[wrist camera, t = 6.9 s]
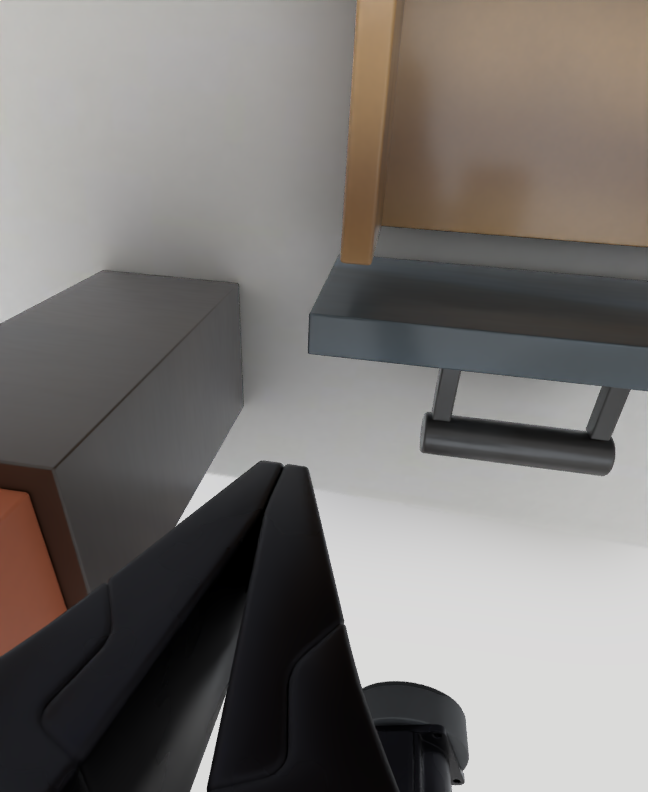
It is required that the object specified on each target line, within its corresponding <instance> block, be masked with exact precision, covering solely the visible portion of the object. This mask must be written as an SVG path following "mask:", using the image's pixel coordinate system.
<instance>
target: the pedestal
mask: <svg viewBox="0 0 648 792" xmlns="http://www.w3.org/2000/svg"><path fill="white" fill-rule="evenodd" d="M242 408H243V382H242V357H241V333H240V308H239V285H238V283H229V282H219V281H208V280H198V279H188V278H177V277H167V276H156V275H146V274H136V273H125V272H115V271H104V270H103V271H101V272H99V273H97V274H95V275H93V276H91V277H89V278H87V279H85V280H83V281H81V282H79V283H78V284H76V285H74V286H72V287H70V288H68V289H66V290H64V291H62V292H60V293H58V294H56V295H55V296H53V297H51V298H49V299H47V300H45V301H43V302H41V303H39V304H37V305H35V306H33V307H31V308H30V309H28V310H26V311H24V312H22V313H20V314H18V315H16V316H14V317H12V318H10V319H8V320H6V321H5V322H3V323H1V324H0V488H1V489H8V490H14V491H21V492H26V493H28V494H29V496H30V499H31V502H32V505H33V508H34V511H35V514H36V517H37V520H38V523H39V526H40V529H41V532H42V535H43V538H44V541H45V544H46V547H47V550H48V553H49V556H50V559H51V562H52V565H53V568H54V571H55V574H56V577H57V580H58V583H59V586H60V589H61V592H62V595H63V598H64V601H65V604H66V608H67V610H68V609H69V608H71V607H72V606H73V605H75V604H76V603H77V602H79V601H80V600H81V599H83V598H84V597H85V596H87V595H88V594H89V593H91V592H92V591H93V590H94V589H96V588H97V587H98V586H100V585H101V584H102V583H107V584H108V579H109V578H110V577H111V576H113V575H114V574H115V573H117V572H118V571H119V570H120V569H122V568H123V567H124V566H126V565H127V564H128V563H129V562H131V561H132V560H133V559H135V558H136V557H137V556H138V555H140V554H141V553H142V552H144V551H145V550H146V549H147V548H149V547H150V546H151V545H153V544H154V543H155V542H156V541H158V540H159V539H160V538H162V537H163V536H164V535H165V534H167V533H168V532H169V531H171V530H172V529H173V528H174V527H175V526H176V524H177V522H178V521H179V519H180V517H181V515H182V514H183V512H184V510H185V508H186V507H187V505H188V503H189V501H190V500H191V498H192V496H193V494H194V492H195V491H196V489H197V487H198V485H199V484H200V482H201V480H202V478H203V477H204V475H205V473H206V471H207V470H208V468H209V466H210V464H211V463H212V461H213V459H214V457H215V456H216V454H217V452H218V450H219V448H220V447H221V445H222V443H223V441H224V440H225V438H226V436H227V434H228V433H229V431H230V429H231V427H232V426H233V424H234V422H235V420H236V419H237V417H238V415H239V413H240V411H241V410H242Z"/></svg>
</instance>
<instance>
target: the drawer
mask: <svg viewBox="0 0 648 792" xmlns="http://www.w3.org/2000/svg"><path fill="white" fill-rule="evenodd" d="M381 226H388V227H401V228H413V229H425V230H438V231H450V232H462V233H475V234H487V235H500V236H512V237H524V238H537V239H549V240H561V241H574V242H586V243H598V244H611V245H623V246H636V247H648V0H357V4H356V19H355V35H354V51H353V66H352V82H351V97H350V113H349V129H348V144H347V160H346V175H345V191H344V206H343V222H342V238H341V253H340V254H339V256H338V258H337V260H336V262H335V264H334V266H333V268H332V270H331V272H330V274H329V276H328V278H327V280H326V282H325V284H324V286H323V288H322V290H321V292H320V294H319V296H318V298H317V300H316V302H315V304H314V306H313V308H312V310H311V312H310V314H309V333H308V353H309V354H315V355H324V356H333V357H342V358H351V359H360V360H369V361H378V362H387V363H396V364H406V365H415V366H424V367H433V368H440V369H439V374H438V380H437V385H436V391H435V396H434V401H433V407H432V413H429V412H427V413H425V414H424V417H423V421H422V427H421V436H420V451H421V452H422V453H427V454H435V455H443V456H450V457H458V458H466V459H474V460H481V461H489V462H497V463H505V464H513V465H520V466H528V467H536V468H544V469H551V470H559V471H567V472H575V473H583V474H590V475H598V476H605V475H607V474H608V473H609V472H610V471H611V469H612V467H613V464H614V460H615V445H614V441H613V439H612V437H611V435H612V433H613V431H614V428H615V426H616V423H617V421H618V419H619V416H620V414H621V411H622V409H623V407H624V404H625V402H626V399H627V397H628V395H629V392H630V390H631V389H633V390H642V391H648V281H644V280H632V279H621V278H610V277H598V276H587V275H575V274H564V273H553V272H541V271H530V270H518V269H507V268H496V267H484V266H473V265H461V264H450V263H439V262H427V261H416V260H404V259H393V258H381V257H373V256H374V252H375V248H376V245H377V241H378V237H379V233H380V229H381ZM461 371H469V372H478V373H487V374H496V375H505V376H514V377H524V378H533V379H542V380H551V381H560V382H569V383H578V384H587V385H596V386H602V388H601V390H600V393H599V396H598V398H597V401H596V404H595V406H594V409H593V411H592V414H591V417H590V419H589V422H588V425H587V427H586V431H579V430H571V429H563V428H554V427H546V426H538V425H529V424H521V423H513V422H504V421H496V420H488V419H479V418H471V417H462V416H454V415H452V411H453V406H454V402H455V397H456V392H457V388H458V383H459V378H460V373H461Z"/></svg>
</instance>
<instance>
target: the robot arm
mask: <svg viewBox="0 0 648 792" xmlns="http://www.w3.org/2000/svg"><path fill="white" fill-rule="evenodd" d="M226 692H227V693H226ZM225 695H226V698H225V703H224V707H223V712H222V718H221V723H220V727H219V732H218V737H217V742H216V746H215V751H214V756H213V761H212V766H211V771H210V775H209V780H208V785H207V792H452V788H451V787H452V786H451V785H462V784H464V773H463V771H462V768H461V766H460V763H459V761H458V758H457V756H456V753H455V751H454V749H453V746H452V744H451V741H450V739H449V736H448V734H447V731H446V729H445V727H444V726H442V725H439V724H424V725H384V726H375V725H374V722H373V719H372V717H371V714H370V711H369V708H368V705H367V702H366V699H365V696H364V693H363V690H362V687H361V684H360V680H359V677H358V673H357V669H356V666H355V662H354V659H353V655H352V651H351V647H350V644H349V639H348V635H347V630H346V626H345V625H344V619H343V614H342V610H341V606H340V601H339V597H338V593H337V589H336V584H335V580H334V576H333V571H332V567H331V563H330V559H329V554H328V550H327V546H326V541H325V537H324V533H323V529H322V524H321V520H320V516H319V512H318V507H317V503H316V499H315V494H314V490H313V486H312V482H311V477H310V473H309V470H308V468H307V467H305V466H298V465H291V464H287V465H285V466H284V465H283V464H282V463H277V462H270V461H260V462H258V463H257V464H256V465H254V466H253V467H252V468H250V469H249V470H248V471H247V472H245V473H244V474H243V475H241V476H240V477H239V478H238V479H236V480H235V481H234V482H232V483H231V484H230V485H229V486H227V487H226V488H225V489H224V490H222V491H221V492H220V493H218V494H217V495H216V496H214V497H213V498H212V499H211V500H209V501H208V502H207V503H205V504H204V505H203V506H202V507H200V508H199V509H198V510H196V511H195V512H194V513H193V514H191V515H190V516H189V517H187V518H186V519H185V520H184V521H182V522H181V523H180V524H178V525H177V526H176V527H174V528H173V529H172V530H171V531H169V532H168V533H167V534H165V535H164V536H163V537H162V538H160V539H159V540H158V541H156V542H155V543H154V544H153V545H151V546H150V547H149V548H147V549H146V550H145V551H144V552H142V553H141V554H140V555H138V556H137V557H136V558H135V559H133V560H132V561H131V562H129V563H128V564H127V565H126V566H124V567H123V568H122V569H120V570H119V571H118V572H117V573H115V574H114V575H113V576H111V577H110V578H109V579H108V584H107V583H102V584H101V585H100V586H98V587H97V588H96V589H94V590H93V591H92V592H91V593H89V594H88V595H87V596H85V597H84V598H83V599H81V600H80V601H79V602H77V603H76V604H75V605H73V606H72V607H71V608H69V609H68V610H67V611H65V612H64V613H63V614H61V615H60V616H59V617H57V618H56V619H54V620H53V621H52V622H50V623H49V624H48V625H46V626H45V627H43V628H42V629H40V630H39V631H37V632H36V633H35V634H33V635H32V636H30V637H29V638H27V639H26V640H24V641H23V642H21V643H20V644H18V645H17V646H15V647H14V648H12V649H11V650H9V651H8V652H7V653H5V654H4V655H2V656H0V792H190V790H191V787H192V784H193V782H194V779H195V777H196V774H197V771H198V768H199V765H200V763H201V760H202V757H203V755H204V752H205V749H206V747H207V744H208V741H209V738H210V736H211V733H212V730H213V727H214V725H215V722H216V719H217V717H218V714H219V711H220V708H221V706H222V703H223V700H224V697H225Z"/></svg>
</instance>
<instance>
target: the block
mask: <svg viewBox="0 0 648 792" xmlns="http://www.w3.org/2000/svg"><path fill="white" fill-rule="evenodd" d="M65 611H67V608H66V604H65V601H64V598H63V595H62V592H61V589H60V586H59V583H58V580H57V577H56V574H55V571H54V568H53V565H52V562H51V559H50V556H49V553H48V550H47V547H46V544H45V541H44V538H43V535H42V532H41V529H40V526H39V523H38V520H37V517H36V514H35V511H34V508H33V505H32V502H31V499H30V496H29V494H28V493H26V492H21V491H14V490H8V489H1V488H0V656H2V655H4V654H5V653H7V652H8V651H9V650H11V649H12V648H14V647H15V646H17V645H18V644H20V643H21V642H23V641H24V640H26V639H27V638H29V637H30V636H32V635H33V634H35V633H36V632H37V631H39V630H40V629H42V628H43V627H45V626H46V625H48V624H49V623H50V622H52V621H53V620H54V619H56V618H57V617H59V616H60V615H61V614H63V613H64V612H65Z"/></svg>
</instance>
